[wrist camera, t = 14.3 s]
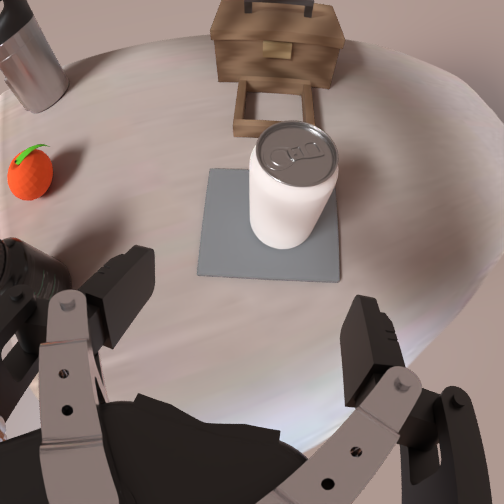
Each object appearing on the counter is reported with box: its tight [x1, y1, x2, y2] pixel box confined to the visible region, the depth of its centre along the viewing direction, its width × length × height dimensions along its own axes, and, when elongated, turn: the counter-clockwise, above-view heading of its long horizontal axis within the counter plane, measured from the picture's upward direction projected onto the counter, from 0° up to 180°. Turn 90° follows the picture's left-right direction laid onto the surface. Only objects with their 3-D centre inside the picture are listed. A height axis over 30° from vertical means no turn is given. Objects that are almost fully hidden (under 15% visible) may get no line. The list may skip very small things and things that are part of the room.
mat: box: [197, 169, 339, 283], centre depth 30 cm, size 14×12×1 cm
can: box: [249, 121, 338, 249], centre depth 24 cm, size 6×6×12 cm
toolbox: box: [210, 0, 345, 138], centre depth 31 cm, size 17×22×13 cm
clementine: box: [7, 144, 53, 200], centre depth 29 cm, size 8×7×7 cm
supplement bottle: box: [0, 237, 71, 300], centre depth 23 cm, size 7×7×12 cm
